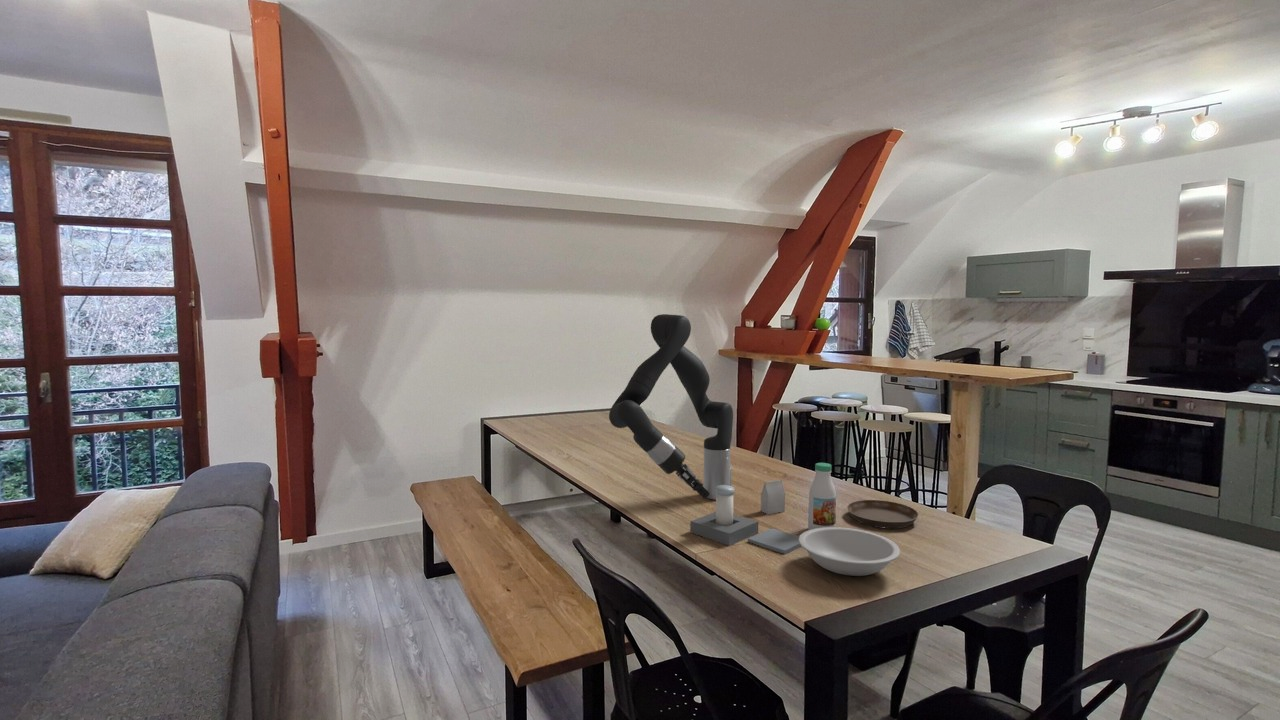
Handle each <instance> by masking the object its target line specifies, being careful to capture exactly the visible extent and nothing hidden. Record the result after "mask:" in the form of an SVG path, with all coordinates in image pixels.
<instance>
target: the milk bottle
mask: <svg viewBox="0 0 1280 720" xmlns="http://www.w3.org/2000/svg"><path fill="white" fill-rule="evenodd" d="M814 465H815V466H814V469H815V470H814V472H815V475H814V479H813V481H812V483H811V485H810V488H809V492H808V510H807V511H808V517H807V521H808V522H807V528H808V530H811V529H816V528H825V527H836V518H837V491H836V488H835V484H834V483H833V479H832V477H831V473H832V468H833V467H832V464H831V463H827V462H817V463H815V464H814Z"/></svg>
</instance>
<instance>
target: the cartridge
mask: <svg viewBox="0 0 1280 720" xmlns="http://www.w3.org/2000/svg"><path fill="white" fill-rule="evenodd" d="M715 493H716V500H715V512H716V524H719V525H722V526H726V527H727V526H730V525H732V524H733V514H734V495H735V487H734V486H732V485H731V486H729V485H719V486H716V488H715Z"/></svg>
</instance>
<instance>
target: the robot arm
mask: <svg viewBox="0 0 1280 720" xmlns="http://www.w3.org/2000/svg"><path fill="white" fill-rule="evenodd" d="M691 326H692V325H691V322H690V320H689V318H688V317H687V316H685V315H681V314H680V315H679V314H668V313H665V314H664V313H663V314H658V315H655V316H654V317H653V318H652V320H651V322H650V334H651V337H652V339H653V340H654V342H655V343H656V345H657V346H658V350H656V352H655V353H653V354H652V355H650V356H649V357H648V358H646V359H645V360H644V361H643V362H642V363H640V364H639V366H638V367H637V368H636V369H635V370H634V372H633V374H632V376H631V377H630V379H629V381H628V383H627V385H626V387H625V388H624V390H623V391H622V392H621V393H620V395H619V396H618V398H617V399H616V400H615V401H614V403H613V404H612V406H611V407H610V410H609V414H608V418H609V419H608V420H609V422H610V424H611V425H612V426H613V427H615V428H617V429H624V428H628V429H629V430H630V431H631V432H632V434H633V436H632V437H633V440H634V441H635V443H636V444H637V445H638V446H639V448H641V449H642V450H643V451H644V452H645V453H646V454H647V455H648V457H649V458H650V459H651V460H652V461H653V462H654V463H655V464H656V465H657V466H658V467H659V468H660V469H661V470H662V471H663V472H664V473H665V474H667V475H670V474H673V473H674V472H675V474H676V475H677V477H678V478H679V479H680V480H681V481H683V483H684V484H686V485H687V486H689V487H690V488H691V489H692V491H694V492H697V494H699V496H701V497H702V498H703V499H704V500H705V499H710V500H715V501H716V493H715V488H716V486H719V485H729V486H732V477H733V475H732V471H733V470H732V468H731V444H732V439H733V426H734V425H733V423H734V410H733V407H732V404H731V403H728V402H723V401H722V402H721V401H714V400H713V401H712V400H710V399H709V397H708V395H707V391H708V388H709V385H710V375H709V373H708V370H707V369H706V367H705V364H704V363H703V360H701V359H700V358H699V357H698V356H697V355H695V353H693V352H692V351H691V350H689V349H688V348H687V347H686V346H685V345H686V344H687V342H688V339H689V338H690V336H691V331H692V327H691ZM669 365H671V367H672V368H673V370H674V372H675V373H676V375H677V378H678V379H679V381H680V383H681V384H682V386H683V388H684V389H685V390H686V393H687V395H688V397H689V398H690V401H691V403H692V405H693V407H694V409H695V410H694V411H695V413H696V415H697V417H698V419H699V422H700V423H701V424H702V426H703V427H706V428H711V429H717V430H716V431H717V432H716V434H715V435H713V436H708V437H707V438H705V439H704V440H703V483H702V482H701V481H700V480H699V479H698V477H697V476H696V475H695V473H693V471H692V469H691V468H690V467H689V466H688V465H687V464H686V463H684V461H685V460H686V459H685V458H686V455H685V453H684V452H683V451H682V450H681V449H680V448H679V447H678V446H676V445H675V443H674V442H672V441H671V440H670V439H669V438H668V437H667V436H665V435H664V434H663V433H662V432H661V430H659V429H658V428H657V427H656V426H655V425H653V423H652V421H651V419H650V418H649V416H648V415H647V413H646V412H645V411H644V409H643V408H642V407H641V405H642V404H643V403H644V402H645V401H646V400H647V399H648V398H649V396H650V394H651V393H652V391H653V390H654V388H655V386H656V383H657V382H658V380H659V378H660V377H661V375H662V374H663V373H664V371H665V369H667V367H668V366H669Z"/></svg>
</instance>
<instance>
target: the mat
mask: <svg viewBox="0 0 1280 720" xmlns="http://www.w3.org/2000/svg"><path fill="white" fill-rule="evenodd" d="M799 537H800V535H796V534H793V533H789V532H787V531H786V532H785V531H783V530H780V529H776V528H769V529H767V530H764V531H762V532H760V533H757V534H755V535H753V536H751V537H748V538H747V543H749V542H750V543H749V544H752V543H753V544H752V545H755V544H756V546H758V545H759V547H762V548H764V549H768V550H771V551H773V552H777V553H780V554H783V555H787V554H788V553H790V552H792V551H794V550H796V549H798V548H800V547H801V545H800V544H799Z"/></svg>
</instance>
